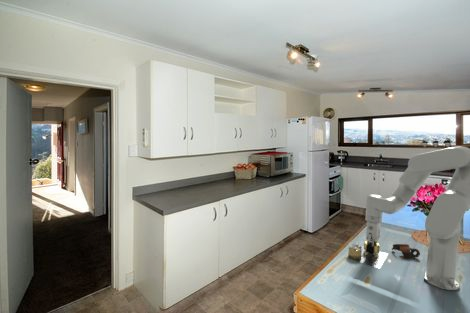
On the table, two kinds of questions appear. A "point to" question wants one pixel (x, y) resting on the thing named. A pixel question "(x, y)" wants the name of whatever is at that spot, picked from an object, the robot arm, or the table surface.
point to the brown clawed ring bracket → (406, 251)
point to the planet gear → (376, 247)
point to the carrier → (366, 256)
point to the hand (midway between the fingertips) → (371, 250)
